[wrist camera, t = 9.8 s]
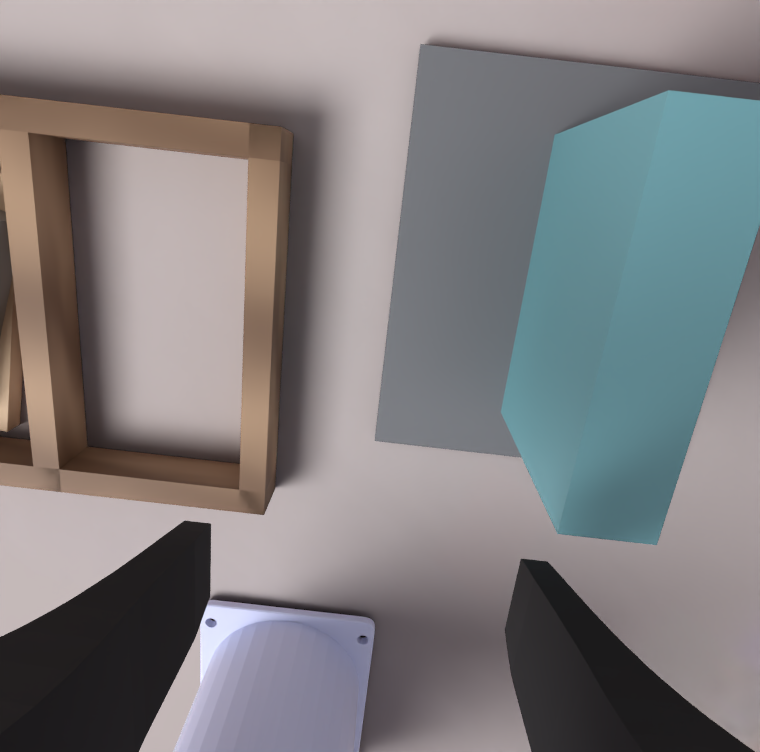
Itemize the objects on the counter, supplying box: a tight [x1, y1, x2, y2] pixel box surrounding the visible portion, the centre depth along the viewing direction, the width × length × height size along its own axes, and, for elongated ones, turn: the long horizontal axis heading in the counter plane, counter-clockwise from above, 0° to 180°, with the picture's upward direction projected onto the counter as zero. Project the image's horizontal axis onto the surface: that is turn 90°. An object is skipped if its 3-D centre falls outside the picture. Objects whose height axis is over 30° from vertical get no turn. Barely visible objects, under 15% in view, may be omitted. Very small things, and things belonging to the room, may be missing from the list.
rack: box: [0, 95, 293, 515], centre depth 20 cm, size 14×16×2 cm
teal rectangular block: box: [501, 90, 760, 545], centre depth 16 cm, size 10×2×8 cm, turn 174°
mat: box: [375, 44, 760, 458], centre depth 20 cm, size 14×12×1 cm
